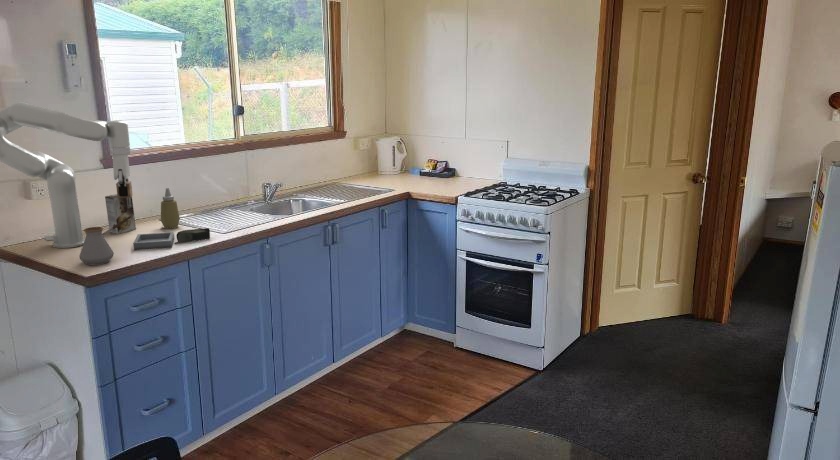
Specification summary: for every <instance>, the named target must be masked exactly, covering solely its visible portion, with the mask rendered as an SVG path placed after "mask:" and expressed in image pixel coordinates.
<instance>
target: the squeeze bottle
mask: <svg viewBox="0 0 840 460" xmlns="http://www.w3.org/2000/svg"><path fill="white" fill-rule="evenodd" d="M160 221H161V223H162V226H163V228H164V229H175V228H176V229H177V227H179V223H180V221H181V219H180V213H179V208H178V203H177V201H176V200H175V196H174V195H172V194H171V191H170V188H169V187H166V188H165V194H164V195H162V201H161V202H160Z"/></svg>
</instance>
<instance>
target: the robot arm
mask: <svg viewBox="0 0 840 460" xmlns="http://www.w3.org/2000/svg"><path fill="white" fill-rule="evenodd" d="M21 127H27V128H31V129H32V128H33V129H37V130H43V131H45V132H46V131H47V132H52V133H55V134H56V133H57V134H60V135H65V136H71V137H74V138H78V139H82V140H88V141H93V142H101V141H103V140H105V139H107V138H108V145H109V155H110V156H112V168H113V169H112V170H113V171H112V172H113V180H116V181H118V184H119V196H128V190H127V186H126V181H129V177H130V173H131V172H130V162H129V156H131V155H132V154H131V145H130V136H129V135H130V134H129V133H130V132H129V125H128V122H127V121H126V120H109V121H108V120H97V119H95V120H89V119H88V120H87V119H83V118H79V117H76V116H72V115H70V114H68V113H65V112H63V111H60V110H57V109H51V108H48V107H43V106H39V105H38V106H37V105H35V104H31V103H28V102H26V101H18V102H14V103H13V104H11V105H10V106H8V107H6V108H4V109H1V110H0V162H1V163H3V164H4V165H7V166H8V167H10V168H12V169H14V170H16V171H18V172H20V173H22V174H23V175H26V176H28V177H31V178H37V177H38V178H40V179H42V180H44V181H46V185H47V190H48V195H49V199H50V200H49V201H50V207H51V212H52V213H51V214H52V219H53V227H54V234H53V235H44V236H43V239H44V241H46V242H51V243H52V247H53V248H56V249H57V248H58V249H69V248H76V247H81V246H83V244H84V241H85V238H86V237H84V236H83V228H82V227H83V226H82V221H81V213H80V207H79V198H78V192H77V186H76V185H77V184H76V173H75V171H74V169H73V168H72V167H71V166H69V165H67V163H63V162H61V161H59V160H58V159H56V158H54V157H52V156H50V155H48V154H46V153H44V152H42V151H38V150H28V149H26V148H24V147H22V146H20V145H18V144H17V143H14V142H11V141H10V140H8V139H7V138H5V135H7V134H10V133H12V132H14V131H16V130H18V129H20V128H21Z"/></svg>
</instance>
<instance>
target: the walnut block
mask: <svg viewBox="0 0 840 460" xmlns="http://www.w3.org/2000/svg"><path fill="white" fill-rule="evenodd" d="M115 185H116V194H117V197H118V198H131V197H132V198H133V186H132V181H126V186H127V190H128V196H119V184H118V182H116V183H115Z"/></svg>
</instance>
